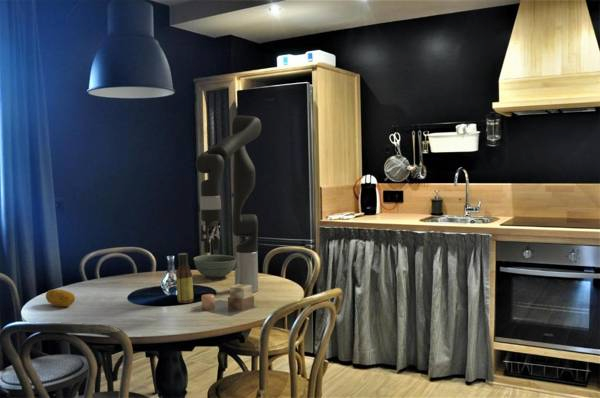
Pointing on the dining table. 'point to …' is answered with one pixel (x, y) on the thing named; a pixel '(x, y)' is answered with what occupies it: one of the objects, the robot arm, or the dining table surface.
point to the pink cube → (208, 302)
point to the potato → (60, 298)
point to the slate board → (222, 308)
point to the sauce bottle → (184, 280)
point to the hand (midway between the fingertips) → (211, 251)
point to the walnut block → (241, 303)
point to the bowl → (215, 265)
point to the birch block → (240, 291)
